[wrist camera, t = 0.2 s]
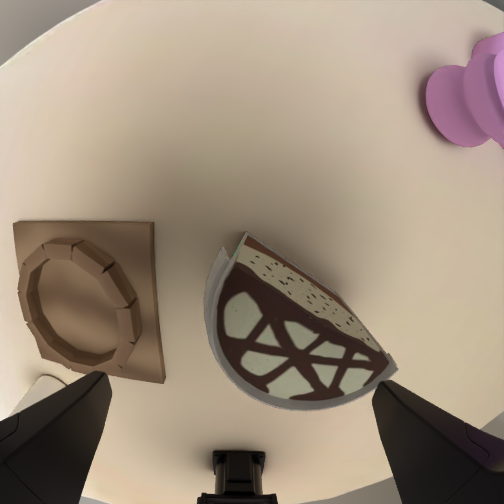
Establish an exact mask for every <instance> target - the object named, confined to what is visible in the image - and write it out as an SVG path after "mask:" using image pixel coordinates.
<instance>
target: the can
mask: <svg viewBox="0 0 504 504" xmlns="http://www.w3.org/2000/svg"><path fill="white" fill-rule="evenodd" d="M64 387H66V385H65V384H64V383H63V382H62V381H60V380H58V379H57V378H55V377H52V376H41V377H40V378H39V379H38V380H37V381H36V382H35V383H34V384H33V386H32V387H31V388H30V389H29V391H28V392H27V393H26V394H25V396H24V397H23V398H22V400H21V401H20V402H19V404H18V405H17V406H16V407H15V409H14V410H13V412H12V413H11V414H10V416H12V415H14V414H16V413H18V412H19V413H20V411H21V410H23V409H25V408H27V407H29V406H31V405H33V404H35V403H36V402H38V401H40V400H42V399H44V398H46V397H48V396H49V395H51V394H53V393H55V392H57V391H58V390H60V389H62V388H64ZM10 416H9V417H10Z"/></svg>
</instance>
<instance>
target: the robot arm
mask: <svg viewBox="0 0 504 504" xmlns="http://www.w3.org/2000/svg"><path fill="white" fill-rule="evenodd" d="M111 398H112V389H111V385H110V382H109V378H108V375H107V374H106V373H105V372H102V371H97V370H95V371H93V372H91V373H89V374H87V375H85V376H84V377H82V378H80V379H78V380H77V381H75V382H73V383H71V384H69V385H68V386H66V387H64V388H62V389H60V390H58V391H57V392H55V393H53V394H51V395H49V396H48V397H46V398H44V399H42V400H40V401H38V402H36V403H35V404H33V405H31V406H29V407H27V408H25V409H23V410H21V411H20V413H19V412H18V413H16V414H14V415H12V416H10V417H8V418H6V419H4V420H2V421H0V504H79V500H80V497H81V494H82V491H83V488H84V484H85V481H86V478H87V475H88V472H89V469H90V466H91V464H92V461H93V458H94V455H95V452H96V449H97V447H98V444H99V441H100V439H101V436H102V433H103V429H104V426H105V421H106V417H107V413H108V410H109V406H110V402H111ZM372 406H373V410H374V414H375V418H376V422H377V426H378V431H379V435H380V438H381V441H382V444H383V447H384V450H385V453H386V456H387V459H388V461H389V464H390V467H391V470H392V473H393V476H394V479H395V482H396V485H397V488H398V491H399V495H400V498H401V501H402V504H504V440H503V439H500V438H498V437H495V436H493V435H490V434H488V433H486V432H483V431H481V430H479V429H477V428H475V427H473V426H472V425H470V424H468V423H466V422H465V423H464V421H462V420H461V419H459V418H457V417H455V416H453V415H451V414H450V413H448V412H446V411H444V410H442V409H441V408H439V407H437V406H435V405H434V404H432V403H430V402H428V401H427V400H425V399H423V398H421V397H420V396H418V395H416V394H414V393H413V392H411V391H409V390H408V389H406V388H404V387H403V386H401V385H399V384H397V383H396V382H394V381H392V380H383V381H380V382H379V383H378V385H377V388H376V390H375V393H374V395H373V398H372ZM265 457H266V456H265V453H264V452H224V451H214V452H213V467H214V475H216V482H215V494H207V493H202V495H201V497H198V498H197V504H278V502H277V497H276V494H269V495H263V491H262V478H261V476H262V473H263V467H264V462H265Z"/></svg>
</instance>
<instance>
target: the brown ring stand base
mask: <svg viewBox="0 0 504 504" xmlns="http://www.w3.org/2000/svg"><path fill="white" fill-rule="evenodd" d="M13 231H14V241H15V249H16V256H17V263H18V269H19V275H20V277H19V283H18V290H19V292H18V296H19V301H20V305H21V309H22V313H23V316H24V320H25V321H26V322H28V323H27V324H26V325H27V326H28V328H29V329H30V331H31V332H32V334H33V335H34V337H35V339H36V342H37V345H38V348H39V351H40V354H41V357H42V358H43V359H47V360H50V361H53V362H57V363H60V364H62V365H64V366H65V367H66V368H68V369H70V368H71V370H72V371H75V372H79V373H83V374H89V373H91V372H93V371H95V370H97V371H102V372H105V373H106V374H107V375H111V376H117V377H122V378H128V379H133V380H140V381H146V382H153V383H160V384H164V381H165V378H166V376H165V369H164V362H163V354H162V346H161V337H160V328H159V318H158V307H157V294H156V278H155V258H154V222H117V221H19V222H16V223H13Z"/></svg>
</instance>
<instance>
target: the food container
mask: <svg viewBox="0 0 504 504" xmlns="http://www.w3.org/2000/svg"><path fill="white" fill-rule="evenodd" d="M204 318H205V323H206V329H207V334H208V339H209V344H210V346H211V349H212V351H213V354H214V356H215V359H216V360H217V362H218V363H219V365H220V367H221V368H222V370H223V371H224V372H225V374H226V375H227V377H228V378H229V379H230V380H231V381H232V382H233V383H234V384H235V385H236V386H237V387H238V388H239V389H240V390H241V391H243V392H244V393H246V394H247V395H248V396H250V397H252V398H253V399H255V400H257V401H259V402H261V403H263V404H266V405H269V406H272V407H275V408H280V409H285V410H291V411H317V410H324V409H329V408H334V407H338V406H341V405H344V404H347V403H350V402H352V401H355V400H357V399H359V398H361V397H363V396H365V395H367V394H368V393H370V392H372V391H373V390H375V389H376V388H377V385H378V383H379V382H380V381H383V380H388V379H390V378H391V377H392V376H393V375H394V374H395V373H396V372H397V371H398V370H399V369H398V368H397V366H396V363H395V361H394V360H393V358H392V357H391V355H390V354H389V353H388V354H387V353H386V352H385V351H384V350H383V348H382V347H381V346H380V345H379V343H378V342H377V341H376V340H375V338H374V337H373V336H372V335H371V333H370V332H369V331H368V330H367V328H366V327H365V326H364V325H363V324H362V322H361V321H360V320H359V319H358V317H357V316H356V315H355V314H354V313H353V311H352V310H351V309H350V308H349V307H348V305H347V304H346V303H345V302H344V301H343V299H342V298H341V297H340V296H339V295H338V294H337V293H336V292H334V291H333V290H331V289H330V288H329V287H327V286H326V285H324V284H323V283H321V282H320V281H318V280H317V279H316V278H314V277H313V276H311V275H310V274H308V273H307V272H305V271H304V270H302V269H301V268H299V267H298V266H297V265H295V264H294V263H292V262H291V261H289V260H288V259H286V258H285V257H283V256H282V255H280V254H279V253H278V252H276V251H275V250H273V249H272V248H270V247H269V246H267V245H266V244H264V243H263V242H261V241H260V240H258V239H257V238H255V237H254V236H252V235H251V234H249V233H248V232H246V233H245V234H244V236H243V238H242V239H241V241H240V243H239V245H238V247H237V248H236V250H235V252H234V254H233V256H232V258H231V260H230V259H229V258H228V255H227V252H226V249H225V248H224V247H222V248H221V250H220V252H219V253H218V255H217V257H216V259H215V261H214V262H213V265H212V268H211V271H210V273H209V276H208V279H207V283H206V289H205V295H204Z"/></svg>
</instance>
